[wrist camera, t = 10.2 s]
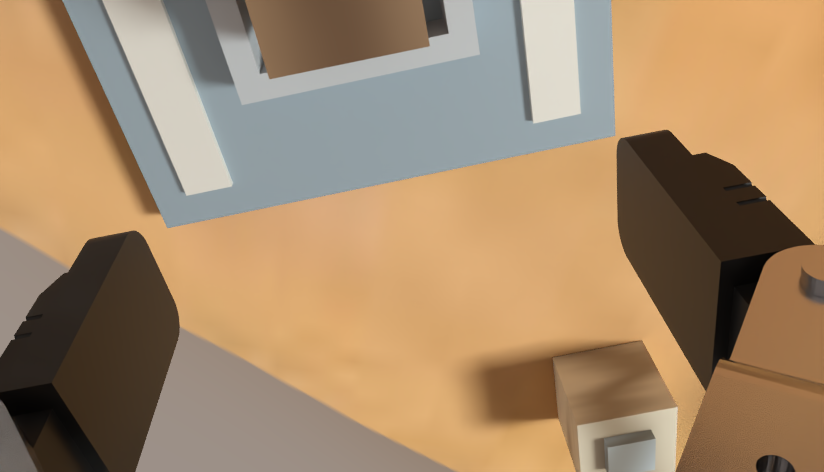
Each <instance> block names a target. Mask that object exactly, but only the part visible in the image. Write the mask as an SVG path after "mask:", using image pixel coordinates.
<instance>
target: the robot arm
mask: <svg viewBox="0 0 824 472" xmlns="http://www.w3.org/2000/svg"><path fill="white" fill-rule="evenodd" d="M617 209H618V228H619V234H620V239H621V243H622V246H623V249H624V251H625V254H626V256H627V258H628V259H629V261H630V263H631V265H632V266H633V268H634V270H635V271H636V273H637V275H638V277H639V278H640V280H641V282H642V283H643V285H644V287H645V288H646V290H647V292H648V294H649V295H650V297H651V299H652V300H653V302H654V304H655V305H656V307H657V309H658V311H659V312H660V314H661V316H662V317H663V319H664V321H665V322H666V324H667V326H668V328H669V329H670V331H671V333H672V334H673V336H674V338H675V339H676V341H677V343H678V345H679V346H680V348H681V350H682V351H683V353H684V355H685V356H686V358H687V360H688V362H689V363H690V365H691V367H692V368H693V370H694V372H695V373H696V375H697V377H698V379H699V380H700V382H701V384H702V385H703V387H704V389H705V390H706V393H705V396H704V399H703V401H702V404H701V407H700V409H699V412H698V414H697V417H696V420H695V422H694V425H693V427H692V430H691V433H690V435H689V438H688V441H687V443H686V446H685V448H684V451H683V454H682V456H681V459H680V461H679V464H678V467H677V469H676V472H824V245H815V244H814V243H813V242H812V241H811V240H810V239H809V238H808V237H807V236H806V235H805V234H804V233H803V232H802V231H801V230H800V229H799V228H798V227H797V226H796V225H795V224H793V223H792V222H791V221H790V220H789V219H788V218H787V217H786V216H785V215H784V214H783V213H782V212H781V211H780V210H779V209H778V208H777V207H776V206H775V205H774V204H773V203H772V202H771V201H770V200H768V201H767V200H766V196H765V195H764V194H763V193H762V192H761V191H760V190H759V189H758V188H757V187H756V186H752V184H751V181H750V180H749V179H748V178H747V177H746V176H745V175H743V174H742V173H741V172H740V171H739V170H738V169H737V168H736V167H735V166H734V165H733V164H730V163H728V162H726V161H723V160H721V159H719V158H717V157H714V156H712V155H710V154H707V153H702V154H696V155H692V154H691V153H690V152H689V151H688V150H687V149H686V148H685V147H684V146H683V145H682V143H681V142H680V141H679V140H678V139H677V138H676V137H675V136H674V135H673V134H672V133H671V132H670V131H669V130H662V131H657V132H651V133H646V134H641V135H636V136H630V137H625V138H621V139H620V140H619V142H618V145H617ZM179 328H180V327H179V316H178V311H177V307H176V304H175V302H174V299H173V297H172V295H171V293H170V291H169V289H168V287H167V284H166V282H165V280H164V278H163V276H162V274H161V272H160V270H159V267H158V265H157V263H156V261H155V259H154V257H153V255H152V253H151V251H150V248H149V246H148V244H147V242H146V240H145V239H144V237H143V236H142V235H141V234H140V233H139V232H137V231H129V232H124V233H119V234H114V235H108V236H103V237H98V238H93V239H89V240H88V241H87V242H86V243H85V245H84V247H83V248H82V250H81V252H80V253H79V255H78V257H77V258H76V260H75V262H74V263H73V265H72V267H71V268H70V270H69V272H68V273H64V274H63V275H62V276H60V277H59V278H58V279H57V280H56V281H55V282H54V283H53V284H51V286H49V287H48V288H47V289H46V290H45V291H44V292H43V293H41V294H40V295H39V297H38V298H37V300H36V302H35V303H34V305H33V306H32V308H31V310H30V311H29V313H28V315H27V316H26V321H24V322H22V324H21V326H20V327H19V329H18V330H17V332H16V333H15V335H14V336H15V340H11V341H10V343H9V345H8V346H7V348H6V350H5V351H4V353H3V354H2V356H1V357H0V472H135V471H136V468H137V464H138V461H139V458H140V455H141V452H142V449H143V446H144V443H145V440H146V436H147V434H148V431H149V427H150V424H151V421H152V418H153V415H154V412H155V409H156V406H157V403H158V400H159V397H160V393H161V390H162V387H163V384H164V381H165V378H166V374H167V372H168V368H169V366H170V362H171V359H172V356H173V353H174V350H175V347H176V344H177V341H178V337H179Z"/></svg>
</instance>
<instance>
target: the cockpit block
mask: <svg viewBox="0 0 824 472" xmlns="http://www.w3.org/2000/svg"><path fill="white" fill-rule="evenodd" d="M553 367H554V378H555V388H556V398H557V409H558V419H559V422H560V425H561V427H562V430H563V433H564V436H565V439H566V442H567V445H568V448H569V451H570V454H571V457H572V460H573V463H574V466H575V469H576V472H675V460H676V436H677V412H678V407H677V405H676V403H675V401H674V399H673V397H672V395H671V394H670V392H669V390H668V388H667V386H666V384H665V382H664V381H663V379H662V377H661V375H660V373H659V371H658V369H657V367H656V366H655V364H654V362H653V360H652V358H651V356H650V354H649V353H648V351H647V349H646V347H645V345H644V343H643V341H637V342H631V343H626V344H621V345H616V346H610V347H605V348H600V349H594V350H589V351H584V352H578V353H573V354H568V355H562V356H557V357H553Z"/></svg>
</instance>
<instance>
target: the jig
mask: <svg viewBox="0 0 824 472" xmlns="http://www.w3.org/2000/svg"><path fill="white" fill-rule="evenodd" d="M62 1H63V3H64V5H65V7H66V10H67V12H68V14H69V16H70V18H71V20H72V23H73V25H74V27H75V29H76V31H77V33H78V36H79V38H80V40H81V42H82V44H83V46H84V49H85V51H86V53H87V55H88V57H89V59H90V62H91V64H92V66H93V68H94V70H95V72H96V75H97V77H98V79H99V81H100V83H101V85H102V88H103V90H104V92H105V94H106V96H107V98H108V101H109V103H110V105H111V107H112V109H113V111H114V114H115V116H116V118H117V120H118V122H119V124H120V126H121V129H122V131H123V133H124V135H125V137H126V139H127V142H128V144H129V146H130V148H131V150H132V152H133V155H134V157H135V159H136V161H137V163H138V165H139V168H140V170H141V172H142V174H143V176H144V178H145V181H146V183H147V185H148V187H149V189H150V191H151V194H152V196H153V198H154V200H155V202H156V204H157V207H158V209H159V211H160V213H161V215H162V217H163V220H164V222H165V224H166V226H167V228H171V227H176V226H180V225H185V224H190V223H195V222H200V221H205V220H210V219H214V218H219V217H224V216H229V215H234V214H239V213H243V212H248V211H253V210H258V209H263V208H268V207H273V206H277V205H282V204H287V203H292V202H297V201H302V200H306V199H311V198H316V197H321V196H326V195H331V194H336V193H340V192H345V191H350V190H355V189H360V188H365V187H369V186H374V185H379V184H384V183H389V182H394V181H399V180H403V179H408V178H413V177H418V176H423V175H428V174H432V173H437V172H442V171H447V170H452V169H457V168H462V167H466V166H471V165H476V164H481V163H486V162H491V161H495V160H500V159H505V158H510V157H515V156H520V155H525V154H529V153H534V152H539V151H544V150H549V149H554V148H558V147H563V146H568V145H573V144H578V143H583V142H588V141H592V140H597V139H602V138H607V137H612V136H615V112H614V80H613V47H612V15H611V0H422V3H423V9H424V15H425V20H426V26H427V32H428V38H429V44H430V46H429V47H424V48H419V49H414V50H410V51H405V52H400V53H395V54H390V55H385V56H381V57H376V58H371V59H366V60H361V61H356V62H351V63H347V64H342V65H337V66H332V67H327V68H322V69H317V70H313V71H308V72H303V73H298V74H293V75H288V76H284V77H279V78H274V79H269V76H268V73H267V70H266V67H265V64H264V60H263V57H262V54H261V51H260V48H259V44H258V41H257V38H256V35H255V31H254V28H253V25H252V22H251V19H250V15H249V12H248V9H247V6H246V2H245V0H62Z"/></svg>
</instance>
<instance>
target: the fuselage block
mask: <svg viewBox="0 0 824 472" xmlns="http://www.w3.org/2000/svg"><path fill="white" fill-rule="evenodd" d="M245 2H246V6H247V9H248V12H249V15H250V19H251V22H252V25H253V28H254V31H255V35H256V38H257V41H258V44H259V48H260V51H261V54H262V57H263V60H264V64H265V67H266V70H267V73H268V76H269V79H274V78H279V77H284V76H288V75H293V74H298V73H303V72H308V71H313V70H317V69H322V68H327V67H332V66H337V65H342V64H347V63H351V62H356V61H361V60H366V59H371V58H376V57H381V56H385V55H390V54H395V53H400V52H405V51H410V50H414V49H419V48H424V47H429V46H430V44H429V38H428V32H427V26H426V20H425V15H424V9H423V3H422V0H245Z"/></svg>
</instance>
